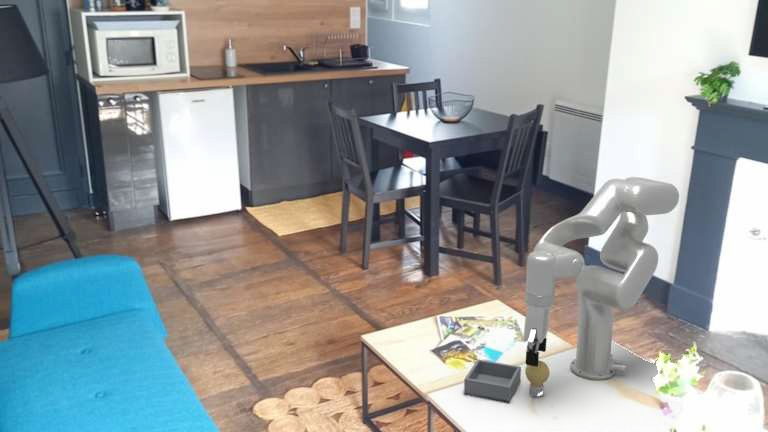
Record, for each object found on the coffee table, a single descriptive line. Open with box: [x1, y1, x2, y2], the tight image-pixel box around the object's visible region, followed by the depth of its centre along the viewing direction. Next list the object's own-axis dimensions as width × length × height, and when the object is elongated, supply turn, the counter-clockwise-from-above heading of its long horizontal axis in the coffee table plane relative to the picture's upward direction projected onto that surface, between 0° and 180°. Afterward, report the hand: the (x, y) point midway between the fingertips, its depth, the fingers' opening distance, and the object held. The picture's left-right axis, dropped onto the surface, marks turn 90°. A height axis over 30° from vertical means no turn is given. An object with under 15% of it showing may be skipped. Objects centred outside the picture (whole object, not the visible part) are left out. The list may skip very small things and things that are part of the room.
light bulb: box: [524, 359, 550, 398], centre depth 197 cm, size 6×6×10 cm
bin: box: [463, 359, 522, 404], centre depth 201 cm, size 13×13×5 cm
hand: (535, 357), depth 194 cm, fingers open, 9 cm apart
